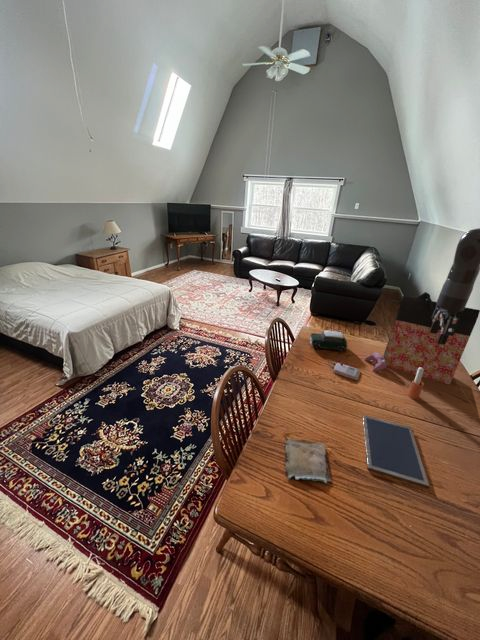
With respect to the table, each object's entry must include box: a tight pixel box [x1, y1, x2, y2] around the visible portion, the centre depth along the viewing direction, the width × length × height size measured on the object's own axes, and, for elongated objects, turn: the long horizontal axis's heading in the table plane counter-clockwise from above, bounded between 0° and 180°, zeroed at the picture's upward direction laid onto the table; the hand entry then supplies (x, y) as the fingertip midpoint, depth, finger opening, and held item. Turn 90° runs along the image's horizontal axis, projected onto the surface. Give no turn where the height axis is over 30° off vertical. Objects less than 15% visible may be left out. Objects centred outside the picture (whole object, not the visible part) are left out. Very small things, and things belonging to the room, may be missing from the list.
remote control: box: [327, 361, 362, 381], centre depth 116 cm, size 7×16×3 cm, turn 58°
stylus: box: [414, 367, 424, 385], centre depth 101 cm, size 2×2×13 cm
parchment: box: [284, 438, 332, 485], centre depth 76 cm, size 12×13×1 cm
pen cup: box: [407, 379, 425, 400], centre depth 102 cm, size 4×4×7 cm
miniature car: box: [309, 329, 348, 353], centre depth 134 cm, size 9×18×8 cm, turn 80°
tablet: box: [361, 414, 430, 489], centre depth 82 cm, size 15×21×1 cm
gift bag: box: [382, 291, 480, 385], centre depth 114 cm, size 29×14×35 cm, turn 60°
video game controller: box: [363, 352, 388, 373], centre depth 120 cm, size 10×5×7 cm, turn 0°
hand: (436, 338), depth 92 cm, fingers open, 8 cm apart
